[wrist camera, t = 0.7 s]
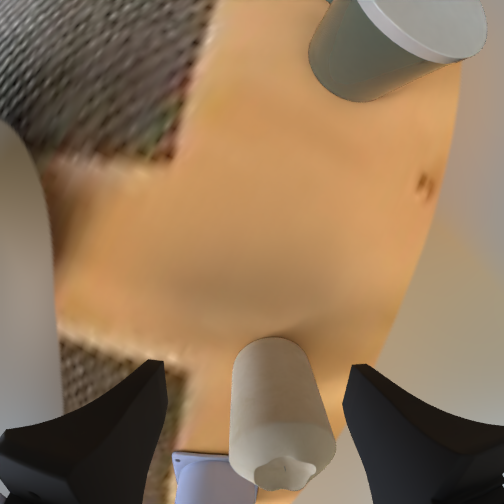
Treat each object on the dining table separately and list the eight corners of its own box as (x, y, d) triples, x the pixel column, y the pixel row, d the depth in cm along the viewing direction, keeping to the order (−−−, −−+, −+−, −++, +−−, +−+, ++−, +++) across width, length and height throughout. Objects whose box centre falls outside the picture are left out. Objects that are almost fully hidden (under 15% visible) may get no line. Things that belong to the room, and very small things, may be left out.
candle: (290, 323, 21) (321, 427, 11) (319, 378, 22) (354, 481, 13) (218, 355, 22) (205, 466, 12) (254, 406, 23) (259, 512, 13)
